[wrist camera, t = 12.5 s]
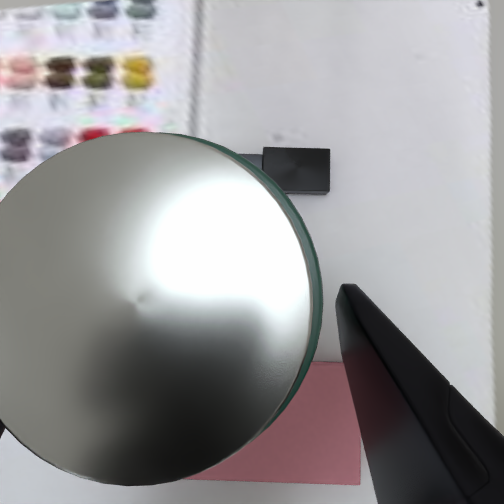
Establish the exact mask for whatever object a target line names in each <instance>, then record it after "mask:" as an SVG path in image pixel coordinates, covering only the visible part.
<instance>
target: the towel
mask: <svg viewBox="0 0 504 504" xmlns="http://www.w3.org/2000/svg"><path fill="white" fill-rule="evenodd" d="M360 452H361V432H360V428H359V424H358V420H357V416H356V412H355V408H354V404H353V400H352V396H351V392H350V388H349V383H348V379H347V375H346V371H345V367H344V363H339V362H311V365H310V368H309V370H308V372H307V374H306V376H305V378H304V380H303V382H302V384H301V386H300V388H299V390H298V391H297V393H296V394H295V396H294V397H293V399H292V400H291V402H290V403H289V404H288V406H287V407H286V409H285V410H284V411H283V412H282V413H281V414H280V415H279V417H278V418H277V419H276V420H275V421H274V422H273V423H272V424H271V425H270V427H268V428H267V429H266V430H265V431H264V432H263V433H261V434H260V435H259V436H258V437H257V438H255V439H254V440H253V441H252V442H251V443H249V444H247V445H246V446H244V447H243V448H242V449H241V450H240V451H238V452H237V453H235V454H234V455H232V456H231V457H229V458H228V459H226V460H224V461H223V462H221V463H220V464H218V465H216V466H214V467H212V468H209V469H207V470H205V471H203V472H201V473H199V474H196V475H193V476H190V477H187V478H184V479H196V480H224V481H253V482H281V483H309V484H337V485H360Z"/></svg>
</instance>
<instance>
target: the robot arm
mask: <svg viewBox="0 0 504 504" xmlns="http://www.w3.org/2000/svg"><path fill="white" fill-rule="evenodd" d="M335 308H336V316H337V324H338V332H339V340H340V348H341V354H342V359H343V363H344V367H345V371H346V375H347V379H348V383H349V388H350V392H351V396H352V400H353V404H354V408H355V412H356V416H357V420H358V424H359V428H360V432H361V437H362V441H363V445H364V449H365V453H366V457H367V461H368V465H369V469H370V473H371V477H372V481H373V486H374V490H375V494H376V498H377V502H378V504H504V436H503V435H502V434H501V433H500V432H499V431H498V430H497V429H496V428H494V427H493V426H492V425H491V424H490V423H489V422H488V421H487V420H486V419H485V418H484V417H483V416H482V415H481V414H480V413H479V412H478V411H477V410H476V409H475V408H474V407H473V406H472V405H471V404H470V403H469V402H468V401H467V400H466V399H465V398H464V397H463V396H462V395H461V394H460V393H459V392H458V390H457V389H456V388H455V387H454V386H453V385H450V383H449V381H448V380H447V379H446V378H445V377H444V376H443V375H442V374H441V373H440V372H439V371H438V370H437V369H436V368H435V367H434V365H433V364H432V363H431V362H430V361H429V360H428V359H427V358H426V357H425V356H424V355H423V354H422V353H421V352H420V351H419V350H418V349H417V348H416V347H415V346H414V345H413V343H412V342H411V341H410V340H409V339H408V338H407V337H406V336H405V335H404V334H403V333H402V332H401V331H400V330H399V329H398V328H397V327H396V326H395V325H394V324H393V323H392V321H391V320H390V319H389V318H388V317H387V316H386V315H385V314H384V313H383V312H382V311H381V310H380V309H379V308H378V307H377V306H376V305H375V304H374V303H373V302H372V300H371V299H370V298H369V297H368V296H367V295H366V294H365V293H364V292H363V291H362V290H361V289H360V288H359V287H358V286H357V285H356V284H342V285H341V286H340V289H339V292H338V295H337V298H336V303H335ZM4 430H5V427H4V426H3V424H2V423H1V422H0V438H1V436H2V434H3V432H4Z"/></svg>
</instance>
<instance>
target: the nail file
mask: <svg viewBox="0 0 504 504" xmlns="http://www.w3.org/2000/svg"><path fill="white" fill-rule="evenodd" d="M239 155H241V156H243V157H244V158H246V159H247V160H249V161H250V162H252V163H253V164H254V165H256V166H257V167H259V168H260V169H261V170H262V171H263V172H265V173H266V174H267V175H268V176H269V177H270V178H271V179H272V180H273V181H274V182H276V183H277V185H278V186H279V187H280V188H281V189H282V191H283V192H284V193H287V194H325V195H326V194H327V193H328V192H329V191H330V149H320V148H280V147H264V148H263V155H261V154H239Z"/></svg>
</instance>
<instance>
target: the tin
mask: <svg viewBox="0 0 504 504" xmlns="http://www.w3.org/2000/svg"><path fill="white" fill-rule="evenodd" d="M322 312H323V289H322V277H321V272H320V267H319V261H318V257H317V254H316V251H315V248H314V244H313V241H312V238H311V236H310V234H309V232H308V230H307V227H306V225H305V223H304V221H303V219H302V217H301V216H300V214H299V213H298V211H297V209H296V208H295V206H294V205H293V203H292V202H291V200H290V199H289V198H288V196H287V195H286V194H285V193H284V192H283V191H282V189H281V188H280V187H279V186H278V185H277V183H276V182H274V181H273V180H272V179H271V178H270V177H269V176H268V175H267V174H266V173H265V172H263V171H262V170H261V169H260V168H259V167H257V166H256V165H254V164H253V163H252V162H250V161H249V160H247V159H246V158H244V157H243V156H241V155H239V154H237V153H235V152H233V151H231V150H229V149H227V148H226V147H224V146H221V145H218V144H215V143H213V142H210V141H207V140H204V139H200V138H196V137H191V136H187V135H182V134H172V133H161V132H159V133H153V132H130V133H119V134H113V135H107V136H102V137H98V138H95V139H92V140H88V141H85V142H82V143H79V144H77V145H75V146H72V147H70V148H68V149H66V150H63V151H61V152H59V153H58V154H56V155H54V156H53V157H51V158H49V159H48V160H46V161H44V162H43V163H41V164H40V165H38V166H37V167H36V168H35V169H33V170H32V171H31V172H30V173H28V174H27V175H26V176H25V177H23V178H22V179H21V180H20V181H19V182H18V183H17V184H16V185H15V186H14V187H13V188H12V189H11V190H10V191H9V192H8V193H7V195H6V196H5V197H4V199H3V200H2V201H1V203H0V422H1V423H2V424H3V426H4V427H5V428H6V429H7V430H8V431H9V432H10V433H11V434H12V435H13V436H14V437H15V438H16V439H17V440H18V441H19V442H20V443H21V444H22V445H23V446H25V447H26V448H27V449H29V450H30V451H31V452H32V453H34V454H35V455H36V456H38V457H39V458H41V459H42V460H44V461H46V462H48V463H49V464H51V465H53V466H55V467H56V468H58V469H60V470H63V471H65V472H68V473H70V474H73V475H75V476H78V477H80V478H84V479H88V480H92V481H96V482H100V483H104V484H113V485H122V486H145V485H156V484H162V483H168V482H173V481H177V480H180V479H184V478H187V477H190V476H193V475H196V474H199V473H201V472H203V471H205V470H207V469H209V468H212V467H214V466H216V465H218V464H220V463H221V462H223V461H224V460H226V459H228V458H229V457H231V456H232V455H234V454H235V453H237V452H238V451H240V450H241V449H242V448H243V447H244V446H246V445H247V444H249V443H251V442H252V441H253V440H254V439H255V438H257V437H258V436H259V435H260V434H261V433H263V432H264V431H265V430H266V429H267V428H268V427H270V425H271V424H272V423H273V422H274V421H275V420H276V419H277V418H278V417H279V415H280V414H281V413H282V412H283V411H284V410H285V409H286V407H287V406H288V404H289V403H290V402H291V400H292V399H293V397H294V396H295V394H296V393H297V391H298V390H299V388H300V386H301V384H302V382H303V380H304V378H305V376H306V374H307V372H308V370H309V368H310V365H311V362H312V359H313V357H314V354H315V351H316V348H317V344H318V339H319V334H320V330H321V324H322Z"/></svg>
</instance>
